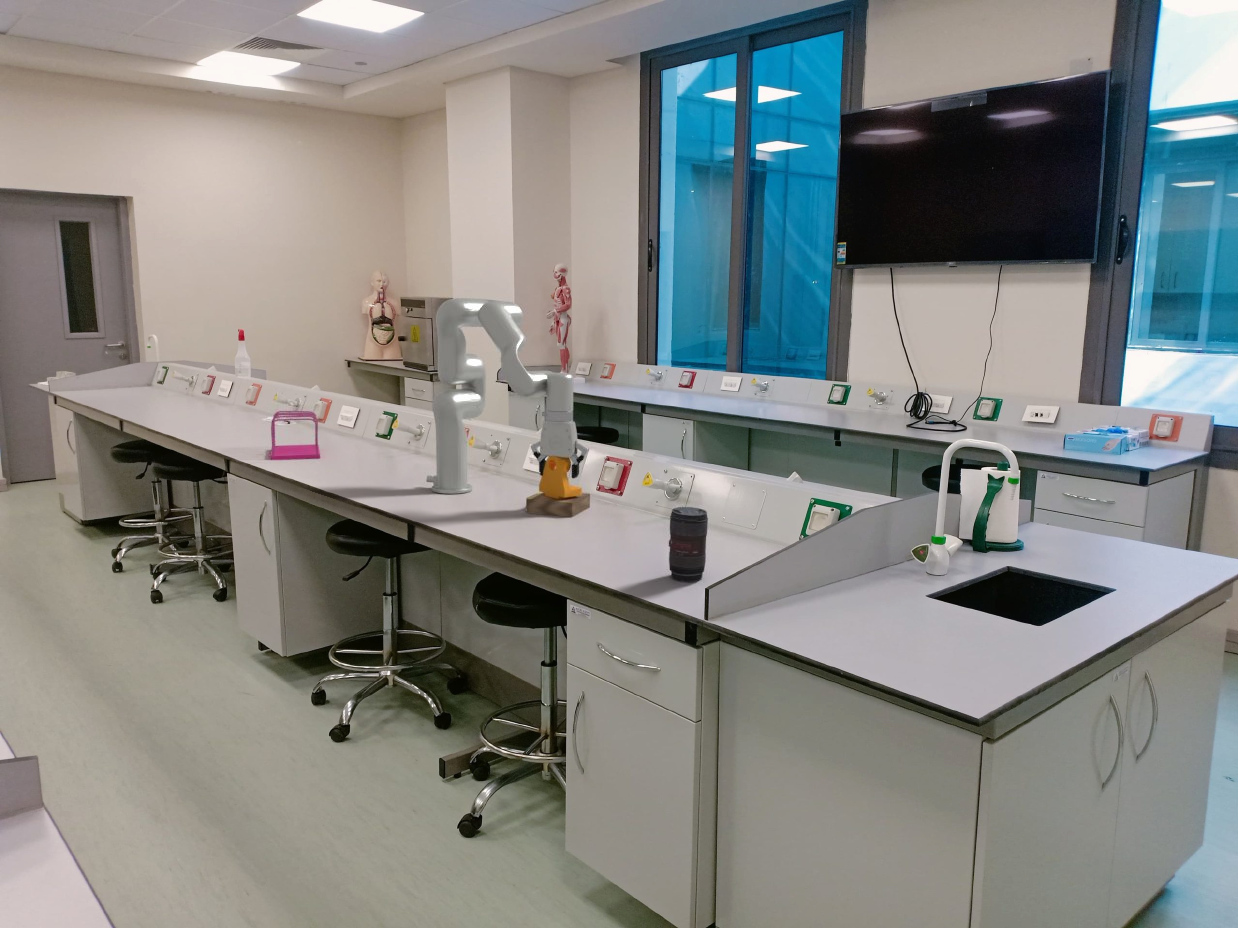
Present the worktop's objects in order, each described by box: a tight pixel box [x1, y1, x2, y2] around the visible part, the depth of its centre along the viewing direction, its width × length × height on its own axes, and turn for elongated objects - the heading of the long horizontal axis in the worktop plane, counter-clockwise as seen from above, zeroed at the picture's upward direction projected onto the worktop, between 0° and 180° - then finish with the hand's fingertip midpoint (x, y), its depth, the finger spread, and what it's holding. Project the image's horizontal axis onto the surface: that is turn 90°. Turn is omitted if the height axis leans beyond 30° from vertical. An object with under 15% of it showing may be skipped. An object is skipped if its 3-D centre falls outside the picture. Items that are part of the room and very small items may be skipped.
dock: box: [525, 491, 591, 518], centre depth 259 cm, size 14×14×4 cm
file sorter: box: [270, 410, 321, 461], centre depth 344 cm, size 17×25×16 cm
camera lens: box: [668, 506, 709, 583], centre depth 195 cm, size 8×8×15 cm
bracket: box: [538, 456, 583, 499], centre depth 258 cm, size 11×7×12 cm, turn 47°
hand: (558, 476), depth 258 cm, fingers open, 9 cm apart
